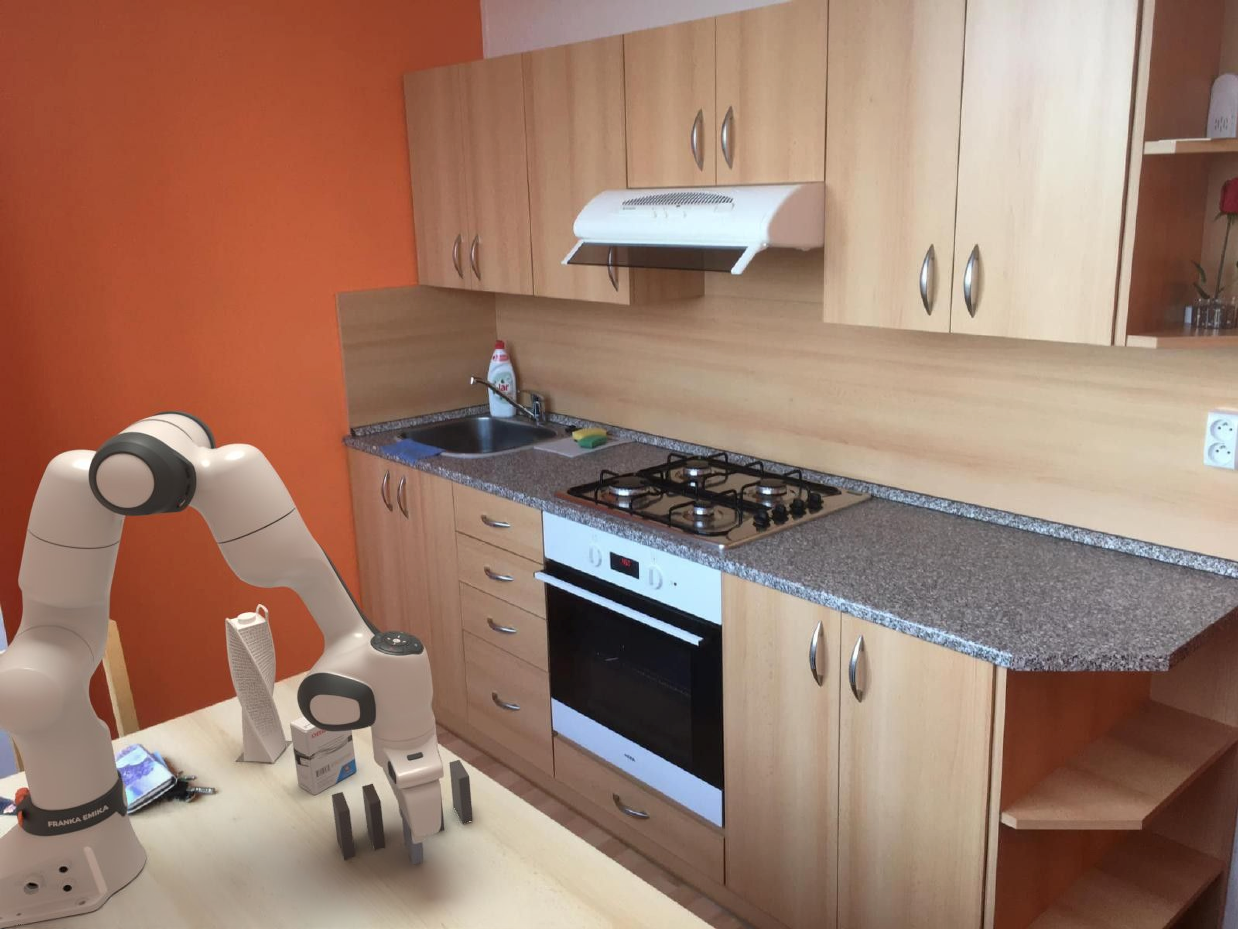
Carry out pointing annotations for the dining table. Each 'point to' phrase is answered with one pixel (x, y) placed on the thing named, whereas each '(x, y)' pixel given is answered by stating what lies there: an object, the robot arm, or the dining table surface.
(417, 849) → the domino
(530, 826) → the dining table surface
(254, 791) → the dining table surface
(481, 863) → the dining table surface
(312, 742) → the ink box
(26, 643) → the robot arm
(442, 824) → the domino
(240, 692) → the skyscraper
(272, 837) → the dining table surface
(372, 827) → the domino
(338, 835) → the domino
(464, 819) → the domino
